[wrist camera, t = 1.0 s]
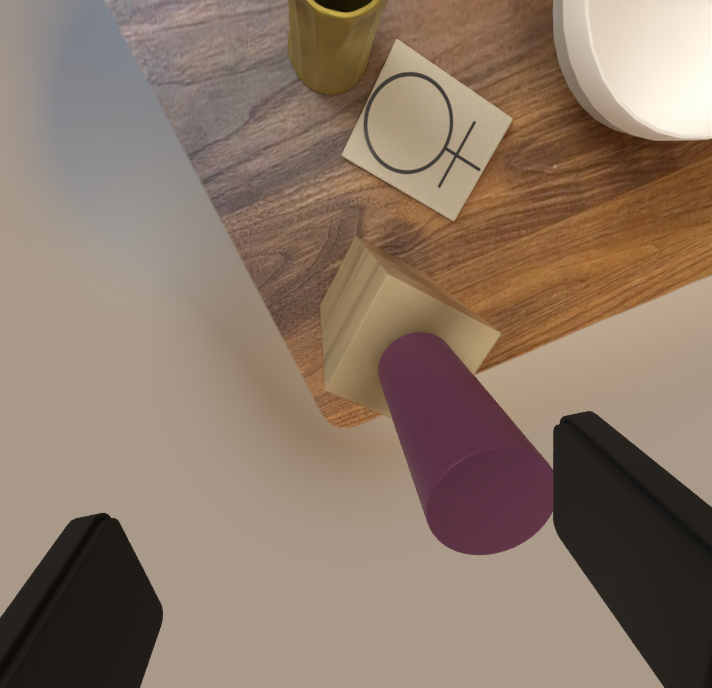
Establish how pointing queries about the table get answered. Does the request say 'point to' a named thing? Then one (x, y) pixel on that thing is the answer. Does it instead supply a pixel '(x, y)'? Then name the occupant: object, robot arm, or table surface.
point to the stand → (388, 321)
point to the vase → (332, 41)
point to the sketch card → (425, 132)
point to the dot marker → (463, 450)
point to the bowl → (639, 64)
